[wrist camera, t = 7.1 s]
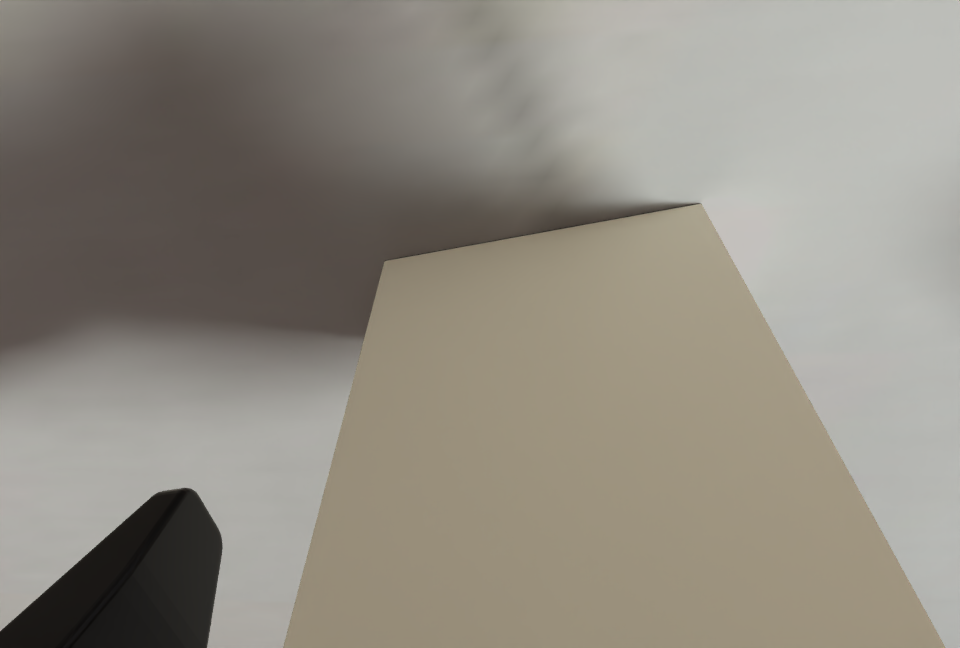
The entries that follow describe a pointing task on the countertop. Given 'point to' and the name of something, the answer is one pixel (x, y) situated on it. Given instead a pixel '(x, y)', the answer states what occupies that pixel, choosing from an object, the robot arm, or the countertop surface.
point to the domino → (590, 463)
